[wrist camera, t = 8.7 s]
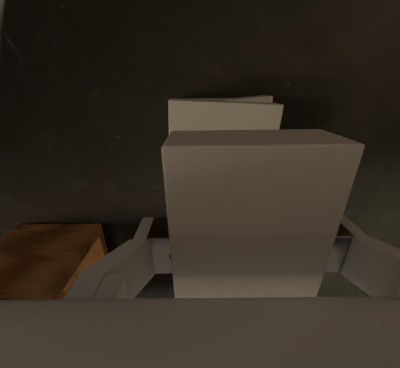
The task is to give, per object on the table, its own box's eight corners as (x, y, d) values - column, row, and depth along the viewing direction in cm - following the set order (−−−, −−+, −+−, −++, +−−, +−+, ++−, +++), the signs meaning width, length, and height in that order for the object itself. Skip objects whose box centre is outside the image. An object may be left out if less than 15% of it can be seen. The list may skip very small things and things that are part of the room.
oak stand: (49, 292, 31) (-56, 436, 18) (19, 223, 26) (-157, 357, 13) (118, 291, 31) (60, 435, 18) (101, 223, 26) (4, 356, 13)
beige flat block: (181, 288, 12) (177, 334, 10) (170, 130, 8) (160, 146, 6) (285, 287, 12) (305, 333, 10) (321, 128, 8) (366, 144, 6)
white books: (177, 195, 24) (171, 226, 19) (170, 95, 20) (160, 98, 14) (255, 194, 24) (272, 225, 19) (266, 94, 20) (292, 97, 14)
